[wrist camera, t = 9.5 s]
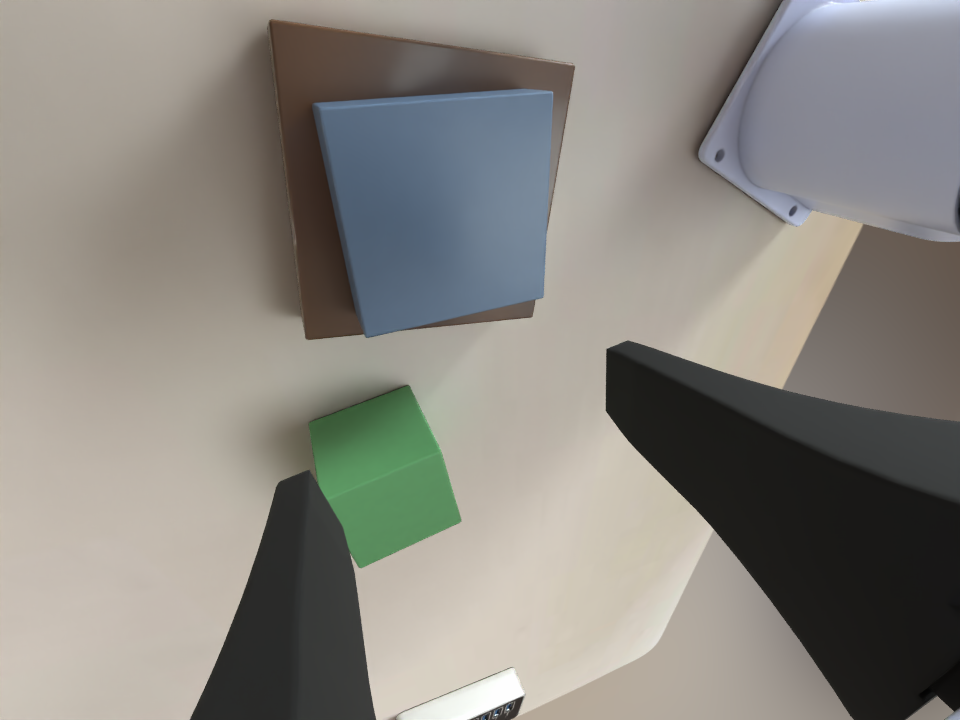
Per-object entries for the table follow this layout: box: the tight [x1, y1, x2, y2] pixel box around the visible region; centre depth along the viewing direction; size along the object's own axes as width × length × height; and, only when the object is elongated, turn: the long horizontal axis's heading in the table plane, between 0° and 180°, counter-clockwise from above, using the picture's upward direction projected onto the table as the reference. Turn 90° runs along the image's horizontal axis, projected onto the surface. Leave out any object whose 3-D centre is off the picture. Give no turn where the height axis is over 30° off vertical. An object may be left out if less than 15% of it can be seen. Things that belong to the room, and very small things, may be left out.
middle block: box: [312, 89, 553, 338], centre depth 14 cm, size 6×6×2 cm
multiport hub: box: [396, 668, 526, 720], centre depth 39 cm, size 4×11×2 cm, turn 82°
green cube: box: [309, 386, 461, 568], centre depth 20 cm, size 5×5×5 cm
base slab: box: [267, 19, 575, 340], centre depth 16 cm, size 9×9×2 cm
